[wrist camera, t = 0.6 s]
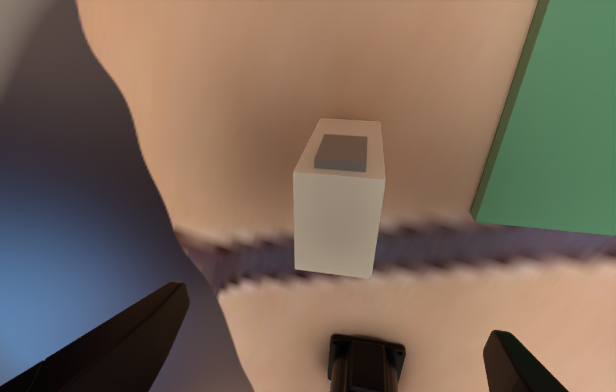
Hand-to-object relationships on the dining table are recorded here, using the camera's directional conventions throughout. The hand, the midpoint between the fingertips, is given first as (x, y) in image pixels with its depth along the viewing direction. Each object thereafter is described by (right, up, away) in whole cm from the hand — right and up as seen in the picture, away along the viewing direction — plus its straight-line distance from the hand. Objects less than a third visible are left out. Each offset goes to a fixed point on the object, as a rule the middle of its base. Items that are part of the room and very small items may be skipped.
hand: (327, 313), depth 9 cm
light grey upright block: (+2, +6, +10) cm, 12 cm away
